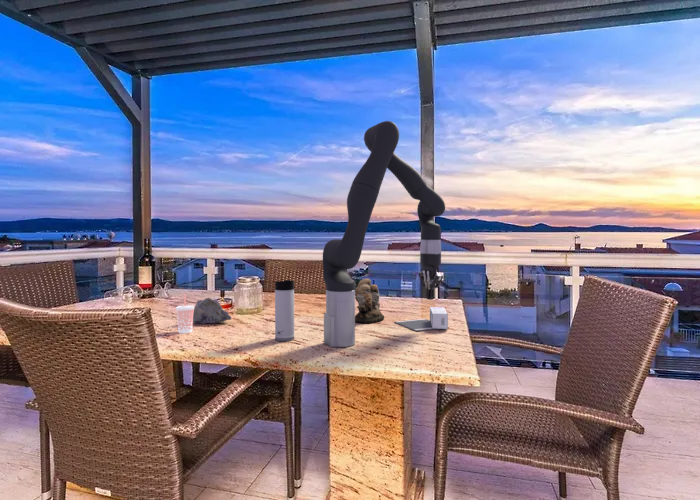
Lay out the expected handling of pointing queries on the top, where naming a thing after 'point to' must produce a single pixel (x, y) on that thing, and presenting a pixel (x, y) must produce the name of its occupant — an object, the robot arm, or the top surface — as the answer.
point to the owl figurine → (368, 303)
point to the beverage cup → (185, 317)
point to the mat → (417, 325)
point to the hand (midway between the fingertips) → (430, 299)
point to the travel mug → (284, 310)
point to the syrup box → (438, 318)
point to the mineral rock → (209, 312)
